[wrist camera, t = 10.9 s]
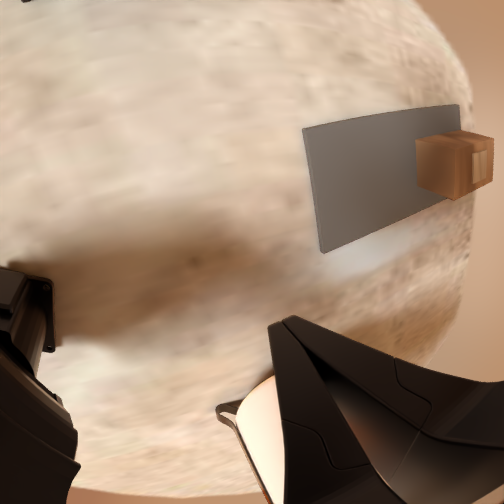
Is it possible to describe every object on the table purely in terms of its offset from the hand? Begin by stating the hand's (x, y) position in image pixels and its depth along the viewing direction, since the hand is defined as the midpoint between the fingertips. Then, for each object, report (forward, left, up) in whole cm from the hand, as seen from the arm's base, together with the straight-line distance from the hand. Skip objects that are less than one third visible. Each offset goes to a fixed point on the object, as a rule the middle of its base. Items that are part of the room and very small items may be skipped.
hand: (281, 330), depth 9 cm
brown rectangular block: (+9, -18, -10) cm, 22 cm away
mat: (+8, -17, -13) cm, 22 cm away
